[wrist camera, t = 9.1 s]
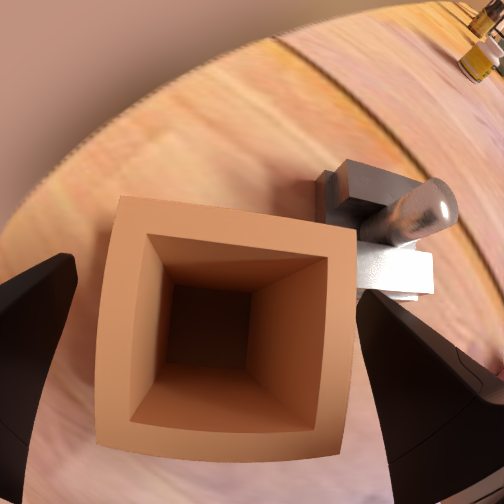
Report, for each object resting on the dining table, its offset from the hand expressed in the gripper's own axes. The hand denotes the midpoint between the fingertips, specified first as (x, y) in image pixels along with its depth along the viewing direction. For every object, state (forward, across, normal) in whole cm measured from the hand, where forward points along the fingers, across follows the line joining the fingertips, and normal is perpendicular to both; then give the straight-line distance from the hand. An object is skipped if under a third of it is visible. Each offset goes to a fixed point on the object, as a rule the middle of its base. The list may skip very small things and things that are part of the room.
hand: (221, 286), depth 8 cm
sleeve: (+3, 0, +5) cm, 5 cm away
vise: (+9, -10, +2) cm, 13 cm away
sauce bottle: (+67, -71, -56) cm, 112 cm away
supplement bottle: (+34, -38, -23) cm, 57 cm away
